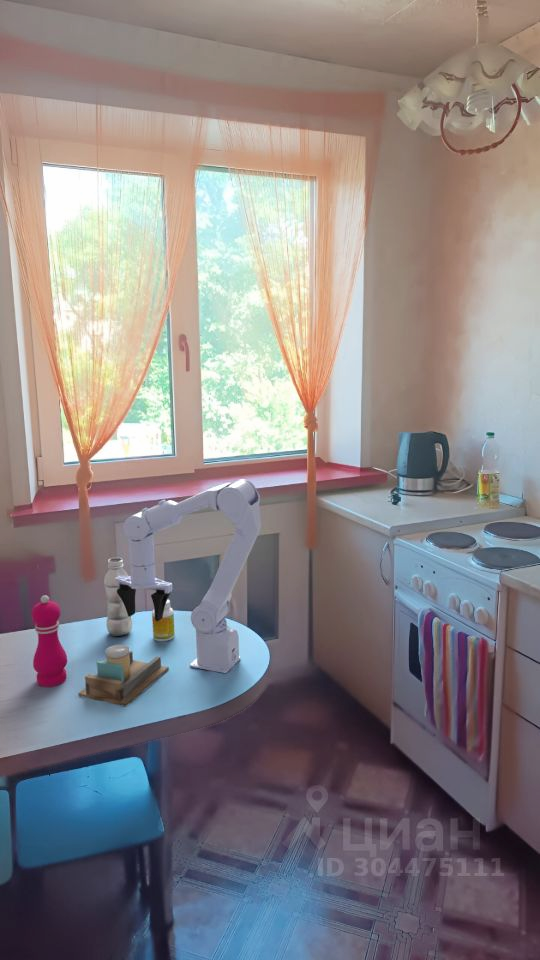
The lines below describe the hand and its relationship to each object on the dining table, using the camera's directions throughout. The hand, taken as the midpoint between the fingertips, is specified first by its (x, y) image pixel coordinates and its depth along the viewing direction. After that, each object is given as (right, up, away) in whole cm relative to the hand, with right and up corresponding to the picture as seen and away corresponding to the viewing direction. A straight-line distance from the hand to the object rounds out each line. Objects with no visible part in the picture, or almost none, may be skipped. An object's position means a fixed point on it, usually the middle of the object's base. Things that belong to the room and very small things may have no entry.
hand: (145, 617), depth 155 cm
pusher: (-4, -12, -16) cm, 20 cm away
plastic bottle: (-9, -7, +14) cm, 18 cm away
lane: (-2, -12, -11) cm, 17 cm away
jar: (-3, -12, -13) cm, 18 cm away
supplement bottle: (+3, -8, +11) cm, 14 cm away
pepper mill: (-19, -12, -10) cm, 25 cm away
